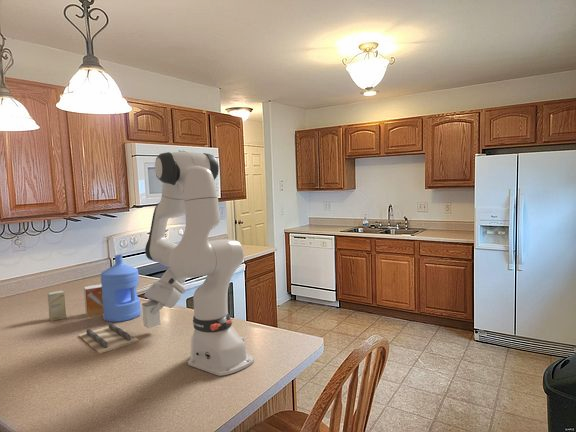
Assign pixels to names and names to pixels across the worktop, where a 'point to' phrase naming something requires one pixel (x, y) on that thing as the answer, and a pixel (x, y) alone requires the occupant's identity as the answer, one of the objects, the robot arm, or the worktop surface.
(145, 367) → the worktop surface
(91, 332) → the rail board
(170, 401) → the worktop surface
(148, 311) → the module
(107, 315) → the water jug
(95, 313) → the small box
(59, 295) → the skincare box
